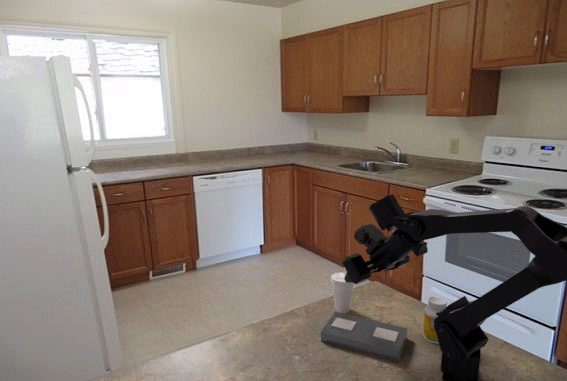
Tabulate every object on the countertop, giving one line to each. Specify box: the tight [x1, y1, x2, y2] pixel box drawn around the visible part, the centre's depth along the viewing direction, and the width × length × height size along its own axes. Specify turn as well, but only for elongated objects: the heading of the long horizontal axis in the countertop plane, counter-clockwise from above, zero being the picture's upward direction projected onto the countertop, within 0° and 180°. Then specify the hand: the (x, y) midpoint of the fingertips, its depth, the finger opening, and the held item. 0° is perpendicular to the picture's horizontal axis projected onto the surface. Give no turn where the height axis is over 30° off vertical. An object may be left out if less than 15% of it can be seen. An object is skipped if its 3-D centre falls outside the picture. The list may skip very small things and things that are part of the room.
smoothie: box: [330, 266, 354, 314], centre depth 101 cm, size 6×6×14 cm
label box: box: [320, 311, 408, 363], centre depth 89 cm, size 18×10×3 cm, turn 63°
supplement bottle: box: [422, 295, 448, 345], centre depth 89 cm, size 5×5×10 cm
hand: (358, 275), depth 96 cm, fingers open, 9 cm apart
